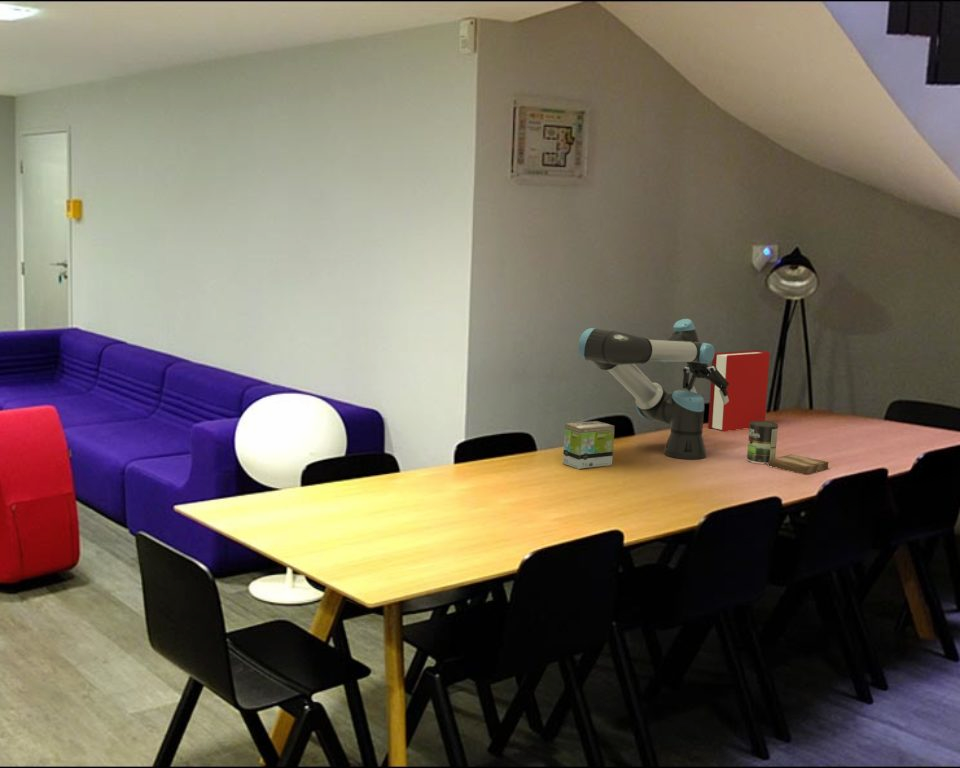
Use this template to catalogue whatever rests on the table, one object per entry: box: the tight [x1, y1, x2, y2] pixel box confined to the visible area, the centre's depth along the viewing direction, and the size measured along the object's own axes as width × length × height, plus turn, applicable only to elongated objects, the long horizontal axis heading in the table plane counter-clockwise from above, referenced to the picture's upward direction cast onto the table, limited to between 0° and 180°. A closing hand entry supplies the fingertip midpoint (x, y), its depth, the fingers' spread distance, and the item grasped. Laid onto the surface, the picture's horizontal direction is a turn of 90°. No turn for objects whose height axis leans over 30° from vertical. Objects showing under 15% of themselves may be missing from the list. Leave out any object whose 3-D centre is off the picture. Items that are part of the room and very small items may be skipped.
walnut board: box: [767, 454, 829, 475], centre depth 388 cm, size 15×15×3 cm
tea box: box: [562, 420, 615, 470], centre depth 382 cm, size 15×10×15 cm, turn 123°
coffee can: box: [746, 420, 779, 463], centre depth 396 cm, size 10×10×14 cm
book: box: [707, 349, 771, 432], centre depth 458 cm, size 27×8×32 cm, turn 124°
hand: (711, 402), depth 427 cm, fingers open, 13 cm apart
